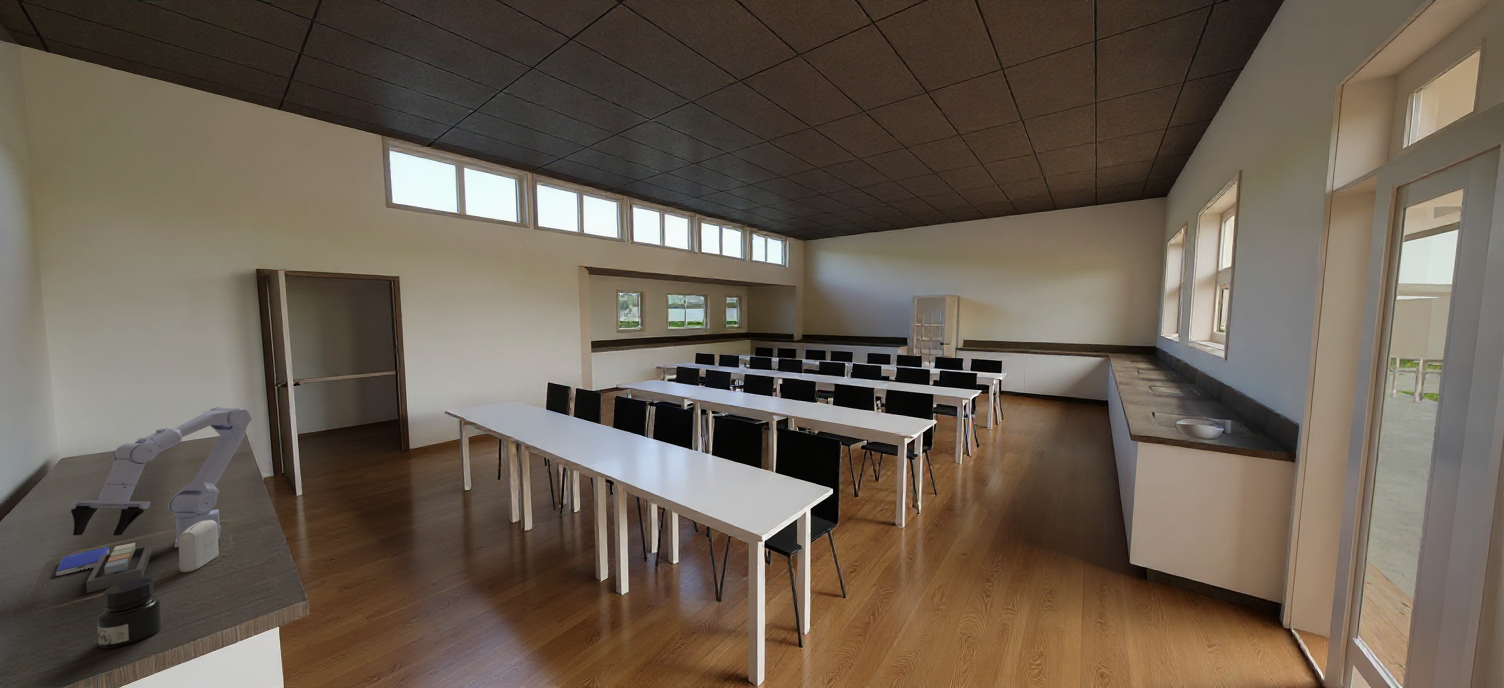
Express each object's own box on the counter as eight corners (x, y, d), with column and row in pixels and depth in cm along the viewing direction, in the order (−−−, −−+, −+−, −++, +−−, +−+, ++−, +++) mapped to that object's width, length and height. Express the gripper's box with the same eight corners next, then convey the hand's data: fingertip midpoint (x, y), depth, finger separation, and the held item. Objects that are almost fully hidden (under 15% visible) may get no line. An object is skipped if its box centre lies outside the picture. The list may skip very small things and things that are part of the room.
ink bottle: (90, 643, 106) (87, 591, 106) (150, 620, 115) (148, 572, 114) (109, 654, 103) (107, 600, 102) (170, 630, 111) (168, 580, 111)
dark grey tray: (151, 554, 147) (150, 544, 146) (142, 579, 132) (141, 569, 132) (102, 565, 140) (101, 555, 140) (86, 592, 126) (86, 581, 126)
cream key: (135, 551, 143) (135, 542, 143) (133, 555, 141) (133, 546, 141) (115, 555, 141) (115, 546, 140) (113, 559, 138) (113, 550, 138)
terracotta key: (131, 561, 137) (130, 552, 137) (129, 566, 135) (128, 557, 134) (110, 566, 134) (109, 557, 134) (107, 571, 132) (107, 561, 132)
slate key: (128, 567, 134) (128, 558, 134) (126, 572, 131) (126, 562, 131) (107, 572, 131) (106, 562, 131) (104, 577, 129) (104, 567, 129)
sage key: (133, 556, 140) (132, 547, 140) (131, 560, 138) (131, 551, 138) (113, 560, 138) (112, 551, 137) (110, 565, 135) (110, 556, 135)
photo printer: (203, 557, 145) (201, 517, 145) (221, 555, 147) (220, 515, 146) (176, 574, 136) (174, 531, 135) (196, 571, 137) (194, 529, 136)
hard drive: (62, 556, 141) (55, 571, 133) (108, 546, 147) (104, 559, 139) (62, 561, 141) (56, 576, 133) (109, 551, 147) (105, 564, 140)
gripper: (72, 483, 132) (47, 535, 127) (147, 485, 138) (125, 536, 133) (91, 484, 137) (67, 534, 133) (162, 486, 144) (141, 534, 139)
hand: (97, 535), depth 133 cm, fingers open, 7 cm apart
